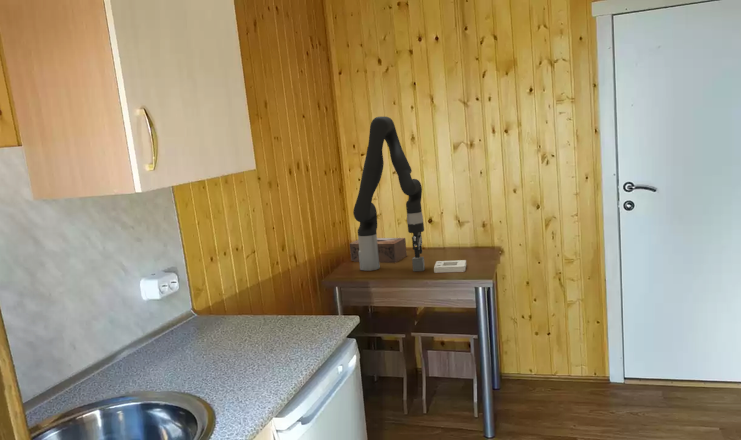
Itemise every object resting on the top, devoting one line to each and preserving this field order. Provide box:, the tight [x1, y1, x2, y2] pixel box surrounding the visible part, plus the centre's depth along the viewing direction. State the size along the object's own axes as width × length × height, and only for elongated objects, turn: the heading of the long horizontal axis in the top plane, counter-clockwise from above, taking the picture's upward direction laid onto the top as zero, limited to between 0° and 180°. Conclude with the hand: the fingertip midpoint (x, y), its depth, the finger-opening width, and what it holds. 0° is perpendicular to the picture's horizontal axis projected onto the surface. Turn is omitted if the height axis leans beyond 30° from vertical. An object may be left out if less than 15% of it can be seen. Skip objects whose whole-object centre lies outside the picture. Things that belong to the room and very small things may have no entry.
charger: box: [411, 256, 425, 272], centre depth 276 cm, size 5×4×6 cm
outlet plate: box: [433, 259, 467, 274], centre depth 273 cm, size 14×12×3 cm
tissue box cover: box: [349, 237, 408, 264], centre depth 307 cm, size 26×14×10 cm, turn 64°
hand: (418, 255), depth 275 cm, fingers open, 8 cm apart
